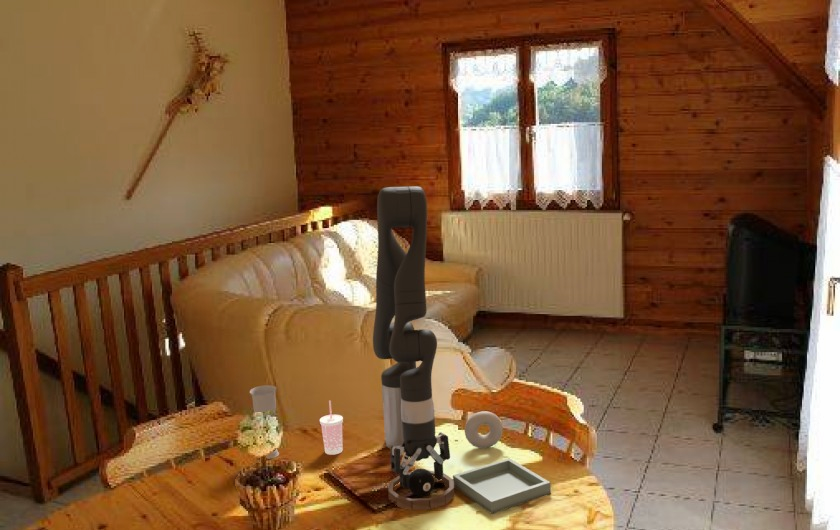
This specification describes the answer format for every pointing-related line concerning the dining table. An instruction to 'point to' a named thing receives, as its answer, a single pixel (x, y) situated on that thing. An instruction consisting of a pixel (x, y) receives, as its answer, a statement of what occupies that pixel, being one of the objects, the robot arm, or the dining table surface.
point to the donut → (481, 419)
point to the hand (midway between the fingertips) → (422, 483)
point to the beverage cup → (332, 432)
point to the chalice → (264, 404)
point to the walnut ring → (423, 502)
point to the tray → (501, 485)
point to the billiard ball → (421, 482)
